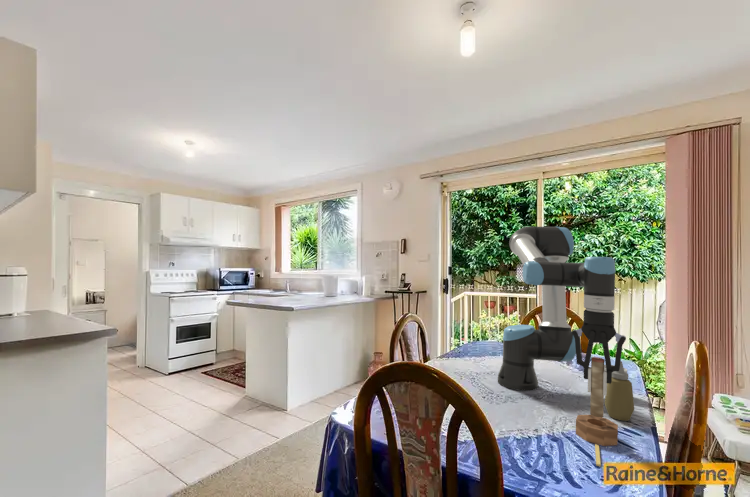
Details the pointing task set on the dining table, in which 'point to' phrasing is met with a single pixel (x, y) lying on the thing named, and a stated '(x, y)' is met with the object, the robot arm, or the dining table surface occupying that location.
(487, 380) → the dining table surface
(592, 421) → the walnut bead
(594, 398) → the needle dowel
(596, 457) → the pale yellow wooden rod
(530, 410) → the dining table surface
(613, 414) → the squeeze bottle
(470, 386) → the dining table surface
